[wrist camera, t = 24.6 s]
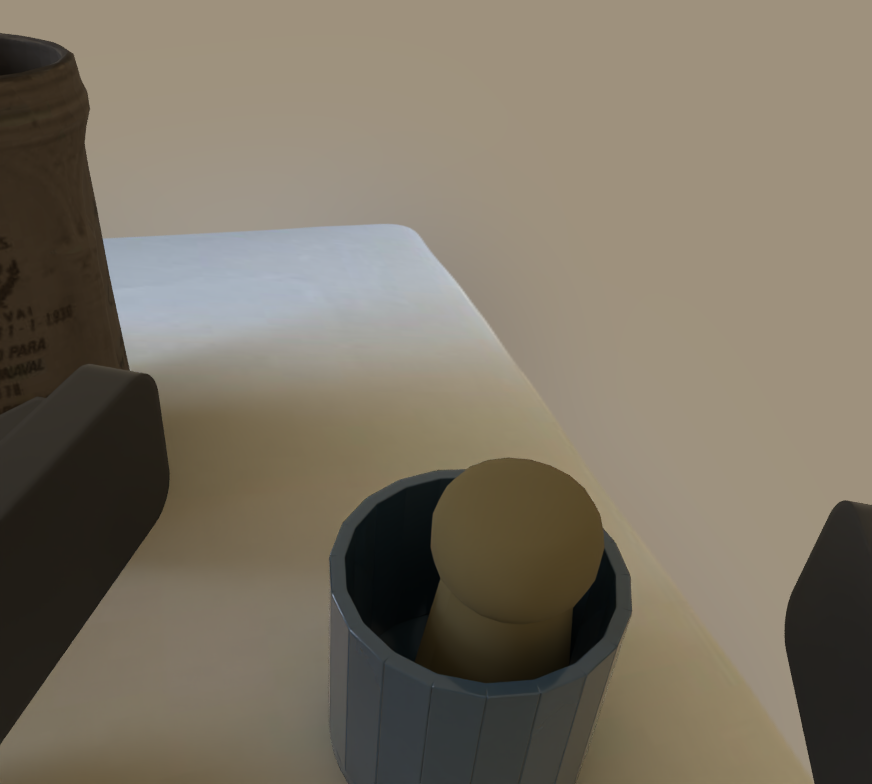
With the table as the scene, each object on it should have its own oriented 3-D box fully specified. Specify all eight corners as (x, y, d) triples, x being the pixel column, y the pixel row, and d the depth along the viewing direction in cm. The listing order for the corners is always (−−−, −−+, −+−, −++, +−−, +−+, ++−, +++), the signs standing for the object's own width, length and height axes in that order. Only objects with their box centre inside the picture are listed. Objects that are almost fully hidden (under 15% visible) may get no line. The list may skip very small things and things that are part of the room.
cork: (543, 647, 32) (595, 429, 26) (583, 793, 27) (659, 566, 21) (394, 654, 31) (411, 430, 25) (407, 806, 26) (432, 574, 20)
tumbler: (276, 704, 30) (268, 551, 25) (456, 579, 36) (475, 436, 31) (459, 913, 24) (489, 766, 20) (636, 725, 30) (690, 578, 26)
